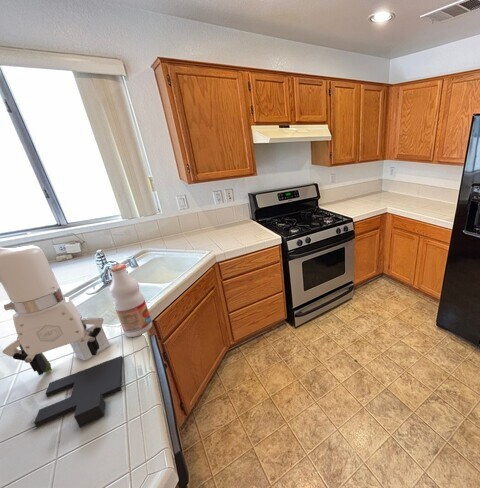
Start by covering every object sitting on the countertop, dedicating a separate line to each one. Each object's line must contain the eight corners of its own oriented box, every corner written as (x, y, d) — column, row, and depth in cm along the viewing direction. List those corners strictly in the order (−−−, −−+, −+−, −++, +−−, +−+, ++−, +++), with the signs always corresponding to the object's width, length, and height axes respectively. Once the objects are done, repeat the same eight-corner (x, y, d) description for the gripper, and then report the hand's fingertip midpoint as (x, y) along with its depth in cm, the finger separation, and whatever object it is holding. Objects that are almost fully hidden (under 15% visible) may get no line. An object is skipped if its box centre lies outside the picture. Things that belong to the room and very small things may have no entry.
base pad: (36, 427, 68) (33, 423, 67) (51, 386, 80) (49, 382, 80) (121, 390, 77) (119, 386, 77) (123, 358, 90) (121, 355, 89)
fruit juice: (122, 331, 105) (98, 267, 95) (148, 319, 111) (128, 259, 102) (129, 341, 99) (103, 274, 89) (156, 328, 105) (135, 264, 96)
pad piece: (79, 427, 67) (73, 416, 66) (82, 413, 71) (77, 402, 70) (104, 416, 70) (99, 405, 68) (105, 403, 74) (100, 392, 72)
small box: (101, 342, 99) (91, 318, 95) (110, 345, 97) (100, 321, 93) (75, 357, 92) (64, 332, 88) (85, 361, 90) (73, 335, 86)
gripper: (-27, 324, 51) (14, 390, 57) (87, 294, 60) (112, 354, 66) (-9, 307, 57) (26, 368, 63) (92, 282, 66) (115, 338, 72)
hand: (70, 361), depth 64 cm, fingers open, 9 cm apart
